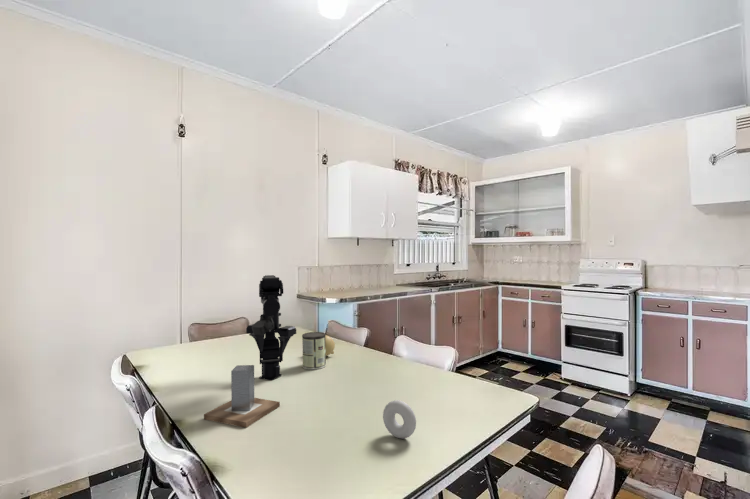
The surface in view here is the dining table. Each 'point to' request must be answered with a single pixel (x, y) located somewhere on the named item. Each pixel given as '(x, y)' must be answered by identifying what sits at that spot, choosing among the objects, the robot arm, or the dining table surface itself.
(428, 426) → the dining table surface
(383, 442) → the dining table surface
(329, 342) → the toy pig
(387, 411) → the donut
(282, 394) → the dining table surface
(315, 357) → the coffee can
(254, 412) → the walnut board
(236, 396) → the gray block
